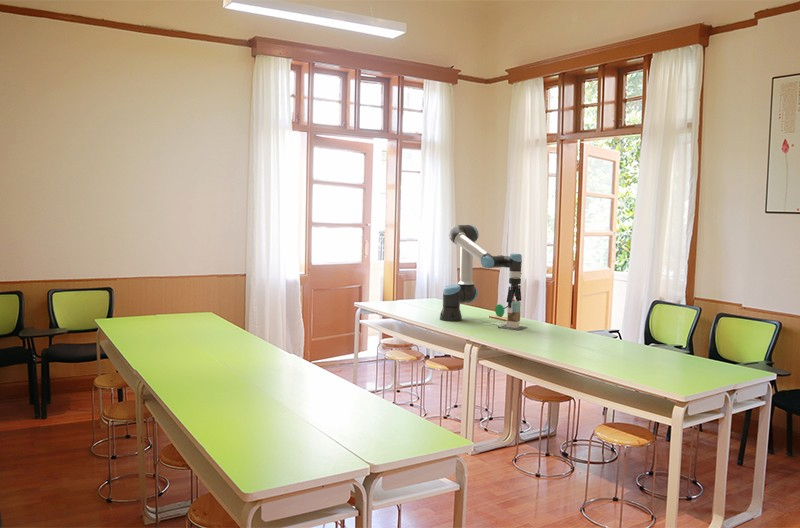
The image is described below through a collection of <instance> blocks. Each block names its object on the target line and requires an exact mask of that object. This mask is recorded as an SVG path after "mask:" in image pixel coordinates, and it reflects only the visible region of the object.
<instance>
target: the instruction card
mask: <svg viewBox="0 0 800 528" xmlns="http://www.w3.org/2000/svg"><path fill="white" fill-rule="evenodd" d="M493 325H496V326H503V325H507V323H503V322H495V323H493Z"/></svg>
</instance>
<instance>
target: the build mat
mask: <svg viewBox="0 0 800 528" xmlns="http://www.w3.org/2000/svg"><path fill="white" fill-rule="evenodd" d="M520 323H521V320H520V321H518V322H513V321H507V322H506V324H507V325H503V326H502V325H499V326H498V329H505V330H512V331H513V330H514V331H521V330H524V329H526V328H528V326H523V325H521V324H520Z"/></svg>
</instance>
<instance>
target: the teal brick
mask: <svg viewBox="0 0 800 528" xmlns="http://www.w3.org/2000/svg"><path fill="white" fill-rule="evenodd" d="M512 303H513V305H512V312H515V313H517V312H520V313H521V303H522V301H520V302H512Z"/></svg>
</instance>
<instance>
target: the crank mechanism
mask: <svg viewBox="0 0 800 528" xmlns="http://www.w3.org/2000/svg"><path fill="white" fill-rule="evenodd" d="M515 301H516V298H515V294H514V297H513V300H512V302H515ZM505 309H508V305H507V306H505V307H504V306H503V305H502V304H501V303H500V304H497V305H496V306H495V309H494V310H495V314H494V315H493V314H492V315H490V314H489V315H488V318H489V319H494V320H497V321H498V320H499V321H502V322H506V323H507V317H508V316H507V317H506V316H504V314H505Z"/></svg>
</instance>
